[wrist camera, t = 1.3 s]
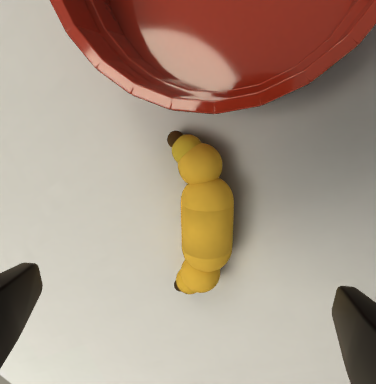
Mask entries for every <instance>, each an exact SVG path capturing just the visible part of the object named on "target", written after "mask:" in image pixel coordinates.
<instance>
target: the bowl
mask: <svg viewBox="0 0 376 384" xmlns="http://www.w3.org/2000/svg"><path fill="white" fill-rule="evenodd" d="M50 2H51V3H52V5H53V7H54V9H55V11H56V13H57V15H58V17H59V19H60V21H61V23H62V25H63V27H64V29H65V31H66V33H67V34H68V36H69V37H70V38H71V39H72V40H73V42H74V43H75V44H76V45H77V46H78V48H79V49H80V50H81V51H82V53H83V54H84V55H85V56H86V57H87V59H88V60H89V61H90V62H91V63H92V65H93V66H94V67H95V68H96V69H97V70H98V71H100V72H101V73H102V74H104V75H105V76H106V77H108V78H109V79H110V80H112V81H113V82H114V83H116V84H117V85H119V86H120V87H121V88H123V89H124V90H125V91H127V92H128V93H129V94H132V95H133V96H136V97H138V98H141V99H143V100H146V101H148V102H151V103H154V104H156V105H159V106H161V107H164V108H167V109H169V110H174V111H185V112H196V113H206V114H219V113H225V112H230V111H236V110H241V109H247V108H252V107H258V106H261V105H264V104H267V103H269V102H271V101H273V100H275V99H277V98H280V97H282V96H284V95H286V94H288V93H290V92H292V91H295V90H297V89H299V88H301V87H303V86H305V85H308V84H309V83H310V82H312V81H314V80H315V79H316V78H318V77H319V76H320V75H321V74H323V73H324V72H325V71H326V70H328V69H329V68H330V67H331V66H333V65H334V64H335V63H337V62H338V61H339V60H340V59H342V58H343V57H344V56H345V55H347V54H348V53H349V52H350V51H352V50H353V49H354V48H356V47H357V45H359V44H360V43H361V42H362V40H363V39H364V38H365V37H366V35H367V34H368V33H369V32H370V31H371V29H372V28H373V27H374V26H375V24H376V0H50Z"/></svg>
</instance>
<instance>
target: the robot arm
mask: <svg viewBox="0 0 376 384" xmlns="http://www.w3.org/2000/svg"><path fill="white" fill-rule="evenodd" d="M41 292H42V280H41V276H40V271H39V267H38V265H37V264H35V263H21V264H19V265H17V266H15V267H13V268H11V269H9V270H6V271H4V272H2V273H0V368H1V367H2V365H3V363H4V362H5V360H6V358H7V357H8V355H9V354H10V352H11V350H12V349H13V347H14V345H15V344H16V342H17V340H18V338H19V337H20V335H21V333H22V331H23V329H24V327H25V325H26V323H27V321H28V319H29V317H30V315H31V313H32V310H33V308H34V306H35V304H36V302H37V300H38V298H39V296H40V294H41ZM332 316H333V321H334V325H335V328H336V332H337V336H338V340H339V344H340V348H341V352H342V356H343V360H344V364H345V367H346V371H347V374H348V377H349V380H350V382H351V384H376V302H374V301H373V300H371V299H370V298H369V297H367V296H366V295H365V294H363V293H362V292H361V291H359V290H358V289H356V288H355V287H349V286H340V287H338V289H337V291H336V295H335V299H334V303H333V307H332Z"/></svg>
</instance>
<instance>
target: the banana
mask: <svg viewBox="0 0 376 384" xmlns="http://www.w3.org/2000/svg"><path fill="white" fill-rule="evenodd" d="M167 141H168V144H169V145H170V146H171V147H172V154H173V157H174V159H175V160H176V161H177V162H178V169H179V173H180V175H181V177H182V178H183V180H184V181H185V182H186V183H188V184H187V185H186V187H185V189H184V190H183V193H182V196H181V227H182V251H183V254H184V257H185V261H184V262H183V264H182V268H181V270H180V271H179V272H178V274H177V277H176V281H175V283H174V286H175V289H176V290H178V291H182V292H183V293H186V294H194V293H196V292H199V293H203V292H207V291H210V290H211V289H213V288H214V287H215V286H216V284H217V283H218V281H219V278H220V268H222V267H223V266H224V265H225V264H226V263H227V262H228V260H229V258H230V256H231V253H232V245H233V215H234V197H233V194H232V191H231V189H230V187H229V186H228V185H227V183H226V182H224V181H223V180H222V179H220V178H219V176H220V174H221V171H222V159H221V156H220V154H219V153H218V151H217V150H216V149H215V148H214V147H212V146H211V145H208V144H205V143H201V141H200V140H199V139H198V138H197V137H196V136H193V135H190V134H185V135H183V134H182V133H181V132H179V131H172V132H171V133H170V134H169V135H168V138H167Z"/></svg>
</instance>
